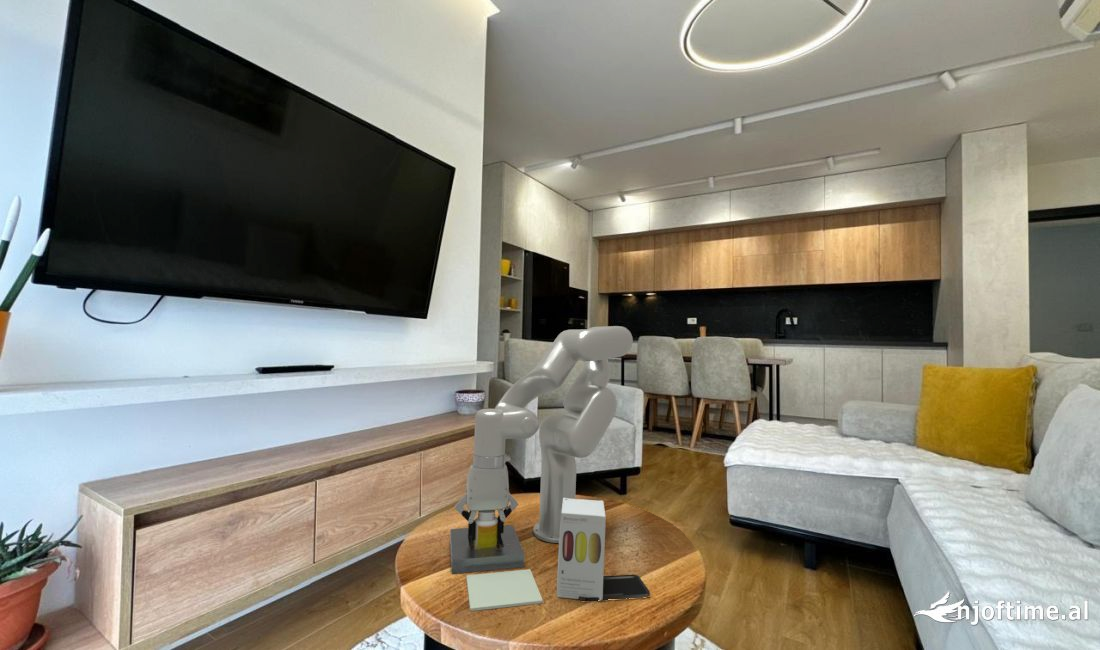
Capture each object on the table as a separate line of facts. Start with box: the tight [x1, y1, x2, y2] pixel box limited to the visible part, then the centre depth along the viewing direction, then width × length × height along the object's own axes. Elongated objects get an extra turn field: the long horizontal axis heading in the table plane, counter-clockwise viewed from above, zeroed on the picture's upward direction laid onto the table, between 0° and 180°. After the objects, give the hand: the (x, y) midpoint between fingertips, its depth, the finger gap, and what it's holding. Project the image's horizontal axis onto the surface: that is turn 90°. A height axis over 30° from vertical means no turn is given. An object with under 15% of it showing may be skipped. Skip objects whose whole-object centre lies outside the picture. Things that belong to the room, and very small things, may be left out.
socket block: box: [449, 524, 525, 575], centre depth 103 cm, size 16×16×3 cm
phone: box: [578, 574, 651, 602], centre depth 90 cm, size 8×1×15 cm
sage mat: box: [465, 568, 544, 612], centre depth 88 cm, size 14×12×1 cm
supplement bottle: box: [472, 510, 498, 550], centre depth 104 cm, size 6×6×10 cm
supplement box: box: [556, 498, 607, 600], centre depth 91 cm, size 10×9×17 cm
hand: (485, 536), depth 104 cm, fingers closed on supplement bottle, 5 cm apart
